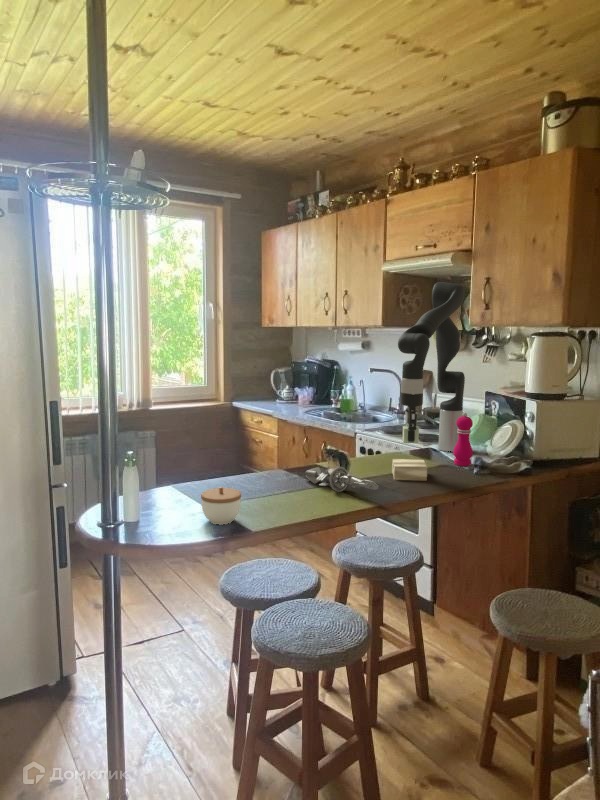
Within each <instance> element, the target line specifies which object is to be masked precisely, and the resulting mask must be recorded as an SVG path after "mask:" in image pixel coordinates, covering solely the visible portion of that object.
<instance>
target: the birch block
mask: <svg viewBox="0 0 600 800" xmlns="http://www.w3.org/2000/svg"><path fill="white" fill-rule="evenodd" d="M391 473H392V476H393V480H394V481H395V480H397V481H421V482H423V481H428V479H427V478H428V466H427V464H426V462H425V460H424V459H411V458H409V459H408V458H407V459H406V458H392V464H391Z"/></svg>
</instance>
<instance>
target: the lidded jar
mask: <svg viewBox="0 0 600 800" xmlns="http://www.w3.org/2000/svg"><path fill="white" fill-rule="evenodd" d="M200 495H201V496H200V498H201V509H202V513H203V515H204V517H205V518H206V519H207V520H209V523H210V522H211V523H210V524H212V523H213V524H212V525H216V524H219V525H218V526H223V524H225V525H229V524H232V523H233V522H232V521H234V520H235V519H237V518H236V517H238V515H239V513H240V509H241V505H242V504H241V503H242V492H241V491H240V490H238V489H236V488H231V487H230V488H229V487H223V486H219V487H218V488H210V489H207V490H204V491H202V492H201V493H200ZM231 522H232V523H231ZM228 523H229V524H228Z"/></svg>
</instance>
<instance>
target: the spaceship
mask: <svg viewBox="0 0 600 800" xmlns="http://www.w3.org/2000/svg"><path fill="white" fill-rule="evenodd" d="M305 477H306V479H308V480H309V481H310V482H311V483H312V484H314V485H315V484H318V483H319V482H320V481H323V480H324V482H321V483H319V484H318V485H319V486H323V487H325V486H330V488H332V490H333V491H335V492H338V493H339V492H343V491H345V489H346V488H347V487H348V486H350V487H351V488H352V489H355V488H356V487H362V488H365V489H369V490H375V491H376V490H378V489H380V485H379V484H378V483H377V482H375V481H373V480H369V479H359V478H357V477H353V476H352V475H351V474H349V472H348V470H347V469H346V467H342V466H338V467H336V468H325V467H321V468H320V467H319V466H317V467H312V468H310V469H308V470H306V471H305Z"/></svg>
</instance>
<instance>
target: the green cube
mask: <svg viewBox="0 0 600 800" xmlns="http://www.w3.org/2000/svg"><path fill="white" fill-rule="evenodd" d="M412 427H414V426H412ZM419 430H420V429H419V427H418V426H416V430H415V441H414V442H409V441H408V426H406V425H404V426H403V425H402V443H403V444H419V437H420V433H419V432H420V431H419Z"/></svg>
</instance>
